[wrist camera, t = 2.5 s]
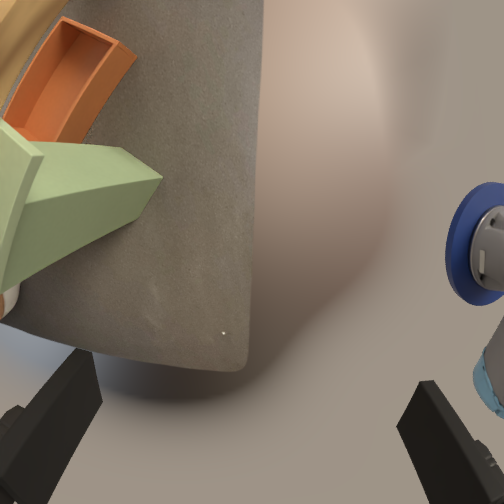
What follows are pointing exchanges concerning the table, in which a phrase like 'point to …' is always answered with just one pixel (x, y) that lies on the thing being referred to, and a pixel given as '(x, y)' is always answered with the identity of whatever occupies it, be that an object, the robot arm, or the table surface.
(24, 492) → the robot arm
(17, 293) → the lidded bowl
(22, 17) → the mallet
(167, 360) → the table surface
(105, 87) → the open box
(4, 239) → the shelf stand
